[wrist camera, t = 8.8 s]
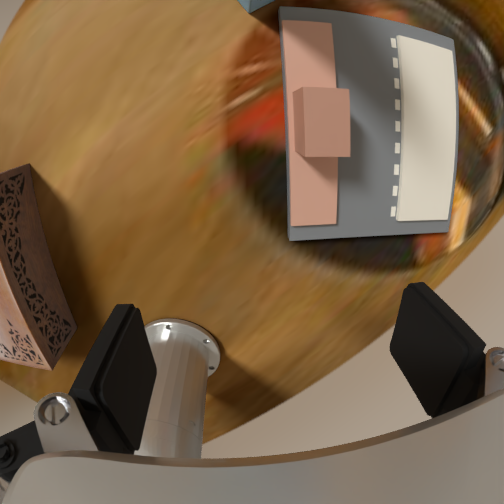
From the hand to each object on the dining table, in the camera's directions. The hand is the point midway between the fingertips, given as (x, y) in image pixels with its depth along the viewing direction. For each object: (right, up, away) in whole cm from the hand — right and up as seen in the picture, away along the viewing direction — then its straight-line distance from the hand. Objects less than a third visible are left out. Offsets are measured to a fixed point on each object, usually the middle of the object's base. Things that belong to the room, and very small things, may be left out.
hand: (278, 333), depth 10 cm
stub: (+5, +16, +18) cm, 24 cm away
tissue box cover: (-36, +2, +25) cm, 44 cm away
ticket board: (+14, +17, +19) cm, 29 cm away
